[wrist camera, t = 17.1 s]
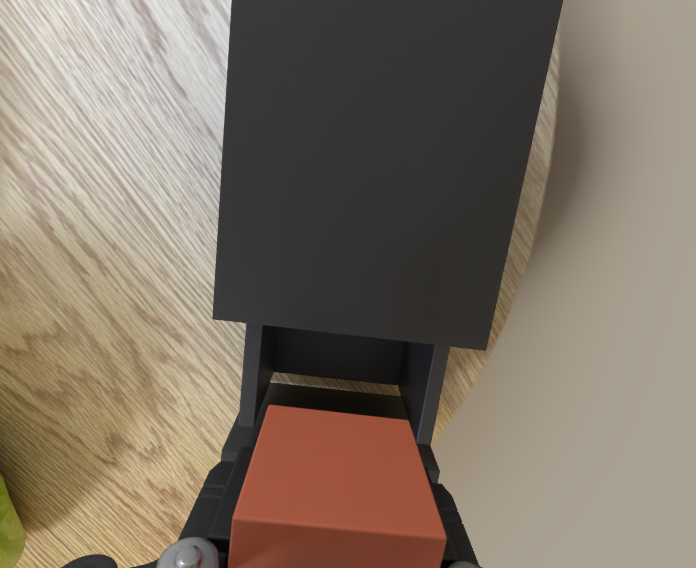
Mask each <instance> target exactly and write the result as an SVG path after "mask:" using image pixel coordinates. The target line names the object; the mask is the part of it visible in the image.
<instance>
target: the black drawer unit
mask: <svg viewBox="0 0 696 568" xmlns="http://www.w3.org/2000/svg"><path fill="white" fill-rule="evenodd" d="M562 3H563V0H232V4H231V20H230V37H229V54H228V70H227V87H226V103H225V120H224V137H223V153H222V170H221V186H220V203H219V220H218V236H217V253H216V270H215V286H214V303H213V319H216V320H224V321H233V322H242V323H250V324H259V325H268V326H276V327H285V328H294V329H302V330H311V331H320V332H329V333H337V334H346V335H355V336H363V337H372V338H381V339H389V340H398V341H407V342H415V343H424V344H433V345H441V346H450V347H459V348H468V349H476V350H486V348H487V343H488V339H489V334H490V330H491V325H492V321H493V316H494V312H495V307H496V302H497V298H498V293H499V289H500V284H501V280H502V275H503V271H504V266H505V262H506V257H507V253H508V248H509V243H510V239H511V234H512V230H513V225H514V221H515V216H516V212H517V207H518V203H519V198H520V194H521V189H522V184H523V180H524V175H525V171H526V166H527V162H528V157H529V153H530V148H531V144H532V139H533V135H534V130H535V125H536V121H537V116H538V112H539V107H540V103H541V98H542V94H543V89H544V85H545V80H546V76H547V71H548V66H549V62H550V57H551V53H552V48H553V44H554V39H555V35H556V30H557V26H558V21H559V17H560V12H561V7H562Z"/></svg>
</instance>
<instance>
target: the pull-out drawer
mask: <svg viewBox="0 0 696 568" xmlns="http://www.w3.org/2000/svg"><path fill="white" fill-rule="evenodd" d="M449 349H450V346H441V345H433V344H424V343H415V342H407V341H398V340H389V339H381V338H372V337H363V336H355V335H346V334H337V333H329V332H320V331H311V330H302V329H294V328H285V327H276V326H268V325H259V324H250V323H247V324H246V336H245V349H244V361H243V374H242V386H241V399H240V411H239V413H238V416H237V418H236V420H235V422H234V425H233V427H232V429H231V431H230V433H229V436H228V438H227V440H226V442H225V445H224V447H223V449H222V454H221V461H228V462H235V460H236V457H237V454H238V452H239V449H240V447H241V446H248V447H255V446H256V443H257V439H258V436H259V433H260V430H261V427H262V424H263V421H264V418H265V415H266V411H267V408H268V406H269V405H277V406H286V407H295V408H304V409H313V410H322V411H330V412H339V413H348V414H357V415H366V416H375V417H384V418H393V419H402V420H408V421H409V423H410V426H411V429H412V432H413V435H414V438H415V441H416V445H417V448H418V451H419V454H420V457H421V460H422V463H423V465H425V466H426V467H427V469H428V472H429V475H430V478H431V481H432V483H438V478H439V473H440V470H439V468H438V465H437V462H436V460H435V457H434V454H433V452H432V449H431V446H430V444H431V440H432V435H433V430H434V425H435V420H436V415H437V410H438V405H439V399H440V394H441V389H442V384H443V379H444V374H445V369H446V364H447V359H448V354H449ZM273 372H280V373H290V374H299V375H308V376H317V377H326V378H336V379H345V380H354V381H363V382H372V383H382V384H391V385H398V388H399V391H400V394H401V396H392V395H383V394H374V393H364V392H355V391H346V390H336V389H327V388H318V387H308V386H299V385H290V384H280V383H271V382H270V381H271V378H272V375H273Z"/></svg>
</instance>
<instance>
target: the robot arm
mask: <svg viewBox="0 0 696 568" xmlns="http://www.w3.org/2000/svg"><path fill="white" fill-rule="evenodd" d="M254 449H255V447H248V446H241V447H240V449H239V452H238V454H237V457H236V460H235V462H228V461H221V462H219V463H218V464H217V465H216V466H215V467H214V468H213V469H212V470H210V471H209V474H208V476H207V478H206V480H205V482H204V485H203V487H202V489H201V491H200V493H199V496H198V498H197V500H196V502H195V504H194V506H193V509H192V511H191V513H190V515H189V517H188V520H187V522H186V524H185V526H184V528H183V531H182V533H181V535H180V537H179V539H178V541H177V542H175V543H173V544H172V545H170V546H169V547H168V548H167V549H166V550H165V551H164V552H163V553H162V554H161V556H160V558H159V559H157V560H155V561H153V562H151V563H148V564H145V565H141V566H136V567H131V568H228V558H229V548H230V537H231V527H232V517H233V514H234V511H235V508H236V505H237V502H238V499H239V496H240V492H241V489H242V486H243V483H244V480H245V477H246V474H247V471H248V467H249V464H250V461H251V458H252V455H253V452H254ZM423 466H424V469H425V472H426V475H427V478H428V481H429V484H430V487H431V490H432V493H433V497H434V500H435V503H436V506H437V509H438V512H439V515H440V518H441V521H442V524H443V527H444V530H445V533H446V536H447V541H446V545H445V549H444V554H443V558H442V562H441V566H440V568H482V567H480V566H479V564H478V562H477V559H476V556H475V554H474V551H473V548H472V546H471V543H470V541H469V538H468V536H467V533H466V531H465V528H464V525H463V524H462V520H461V518H460V515H459V513H458V512H457V507H456V505H455V502H454V500H453V498H452V496H451V494H450V493H449V492H448V491H447V490H446V489H445V487H444V486H443V485H442V484H438V483H432V481H431V478H430V475H429V472H428V469H427V467H426V466H425V465H423ZM62 568H118V567H117V564H116V562H115V561H114V560H113V559H112V558H110V557H108V556H105V555H99V554H95V555H87V556H84V557H80V558H78V559H75V560H73V561H71V562H69V563H68V564H66V565H65V566H63V567H62Z"/></svg>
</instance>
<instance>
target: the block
mask: <svg viewBox="0 0 696 568" xmlns="http://www.w3.org/2000/svg"><path fill="white" fill-rule="evenodd" d="M446 541H447V536H446V533H445V530H444V527H443V524H442V521H441V518H440V515H439V512H438V509H437V506H436V503H435V500H434V497H433V493H432V490H431V487H430V484H429V481H428V478H427V475H426V472H425V469H424V466H423V463H422V460H421V457H420V454H419V451H418V448H417V445H416V441H415V438H414V435H413V432H412V429H411V426H410V423H409V421H408V420H402V419H393V418H384V417H375V416H366V415H357V414H348V413H339V412H330V411H322V410H313V409H304V408H295V407H286V406H277V405H269V406H268V408H267V411H266V415H265V418H264V421H263V424H262V427H261V430H260V433H259V436H258V439H257V443H256V446H255V449H254V452H253V455H252V458H251V461H250V464H249V467H248V471H247V474H246V477H245V480H244V483H243V486H242V489H241V492H240V496H239V499H238V502H237V505H236V508H235V511H234V514H233V517H232V527H231V537H230V548H229V558H228V568H440V566H441V562H442V558H443V554H444V549H445V545H446Z"/></svg>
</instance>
